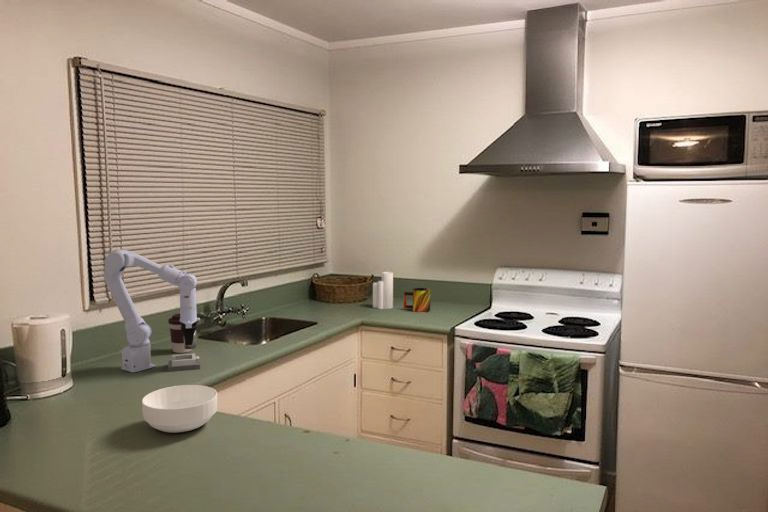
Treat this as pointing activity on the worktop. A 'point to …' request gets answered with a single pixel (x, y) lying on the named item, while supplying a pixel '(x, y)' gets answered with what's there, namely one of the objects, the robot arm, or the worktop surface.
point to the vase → (383, 292)
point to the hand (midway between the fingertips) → (189, 343)
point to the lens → (192, 343)
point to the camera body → (184, 362)
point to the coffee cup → (177, 334)
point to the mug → (419, 299)
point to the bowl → (179, 407)
